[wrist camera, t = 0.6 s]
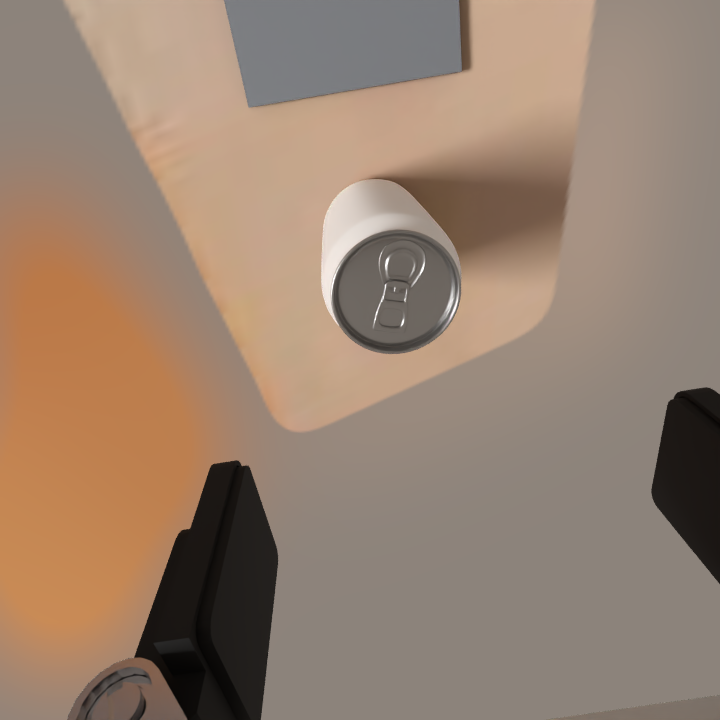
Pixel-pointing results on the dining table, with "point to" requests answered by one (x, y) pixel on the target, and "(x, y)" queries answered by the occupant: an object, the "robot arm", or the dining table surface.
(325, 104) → the dining table surface
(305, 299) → the dining table surface
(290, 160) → the dining table surface
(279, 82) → the mat
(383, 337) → the can
